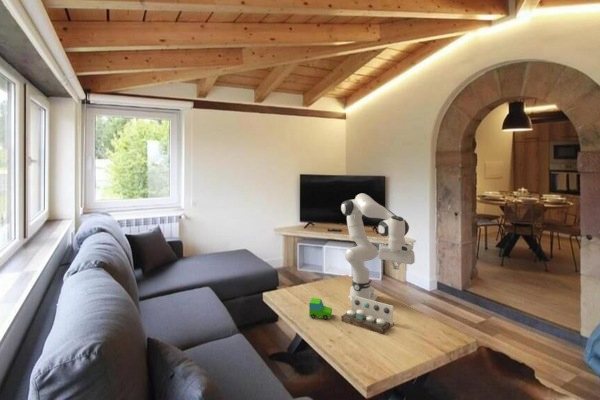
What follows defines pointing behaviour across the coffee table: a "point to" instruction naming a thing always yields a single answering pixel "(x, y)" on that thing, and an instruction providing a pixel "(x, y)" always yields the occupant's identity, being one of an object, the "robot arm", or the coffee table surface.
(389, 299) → the coffee table surface
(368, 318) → the button
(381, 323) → the button
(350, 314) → the button
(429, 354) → the coffee table surface
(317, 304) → the toy car
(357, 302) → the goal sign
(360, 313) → the button
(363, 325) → the walnut button board
